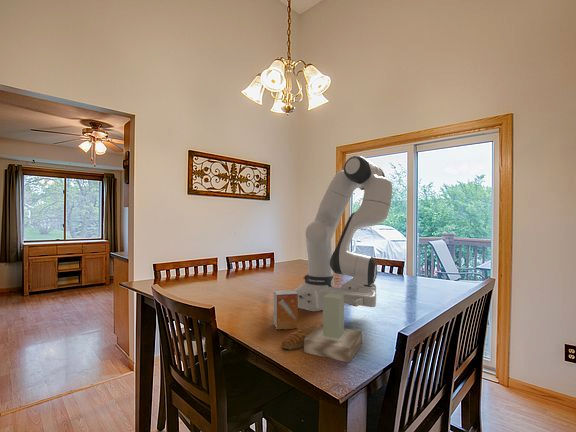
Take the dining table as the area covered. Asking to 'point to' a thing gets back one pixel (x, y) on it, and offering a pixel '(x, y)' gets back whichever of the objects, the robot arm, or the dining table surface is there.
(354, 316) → the dining table surface
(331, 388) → the dining table surface
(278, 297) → the small box
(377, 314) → the dining table surface
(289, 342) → the pastry
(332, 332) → the sage block
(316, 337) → the base plinth
